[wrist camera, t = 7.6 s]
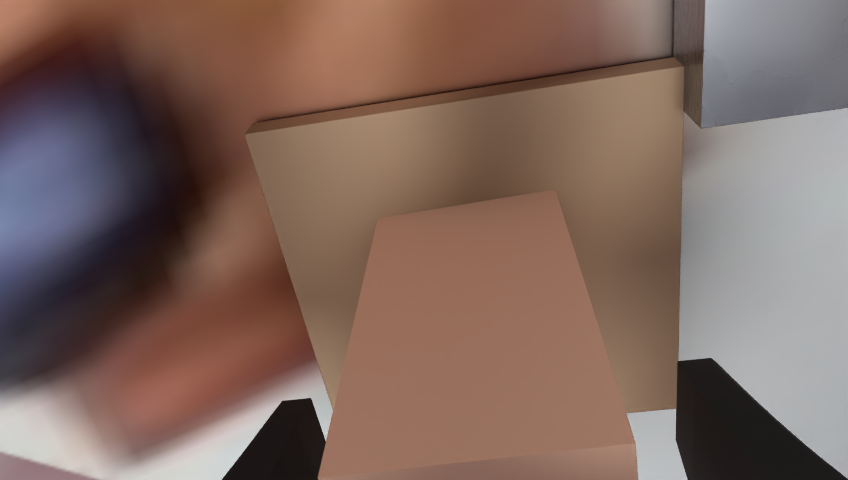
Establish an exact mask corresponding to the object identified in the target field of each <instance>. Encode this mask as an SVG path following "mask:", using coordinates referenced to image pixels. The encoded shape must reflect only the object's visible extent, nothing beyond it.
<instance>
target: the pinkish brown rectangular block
mask: <svg viewBox="0 0 848 480" xmlns="http://www.w3.org/2000/svg"><path fill="white" fill-rule="evenodd" d="M318 480H638V472H637V457H636V443H635V440H634V437H633V434H632V430H631V427H630V424H629V421H628V418H627V415H626V411H625V408H624V405H623V402H622V399H621V396H620V393H619V389H618V386H617V383H616V380H615V377H614V374H613V370H612V367H611V364H610V361H609V358H608V355H607V351H606V348H605V345H604V342H603V339H602V336H601V332H600V329H599V326H598V323H597V320H596V317H595V314H594V310H593V307H592V304H591V301H590V298H589V295H588V291H587V288H586V285H585V282H584V279H583V276H582V272H581V269H580V266H579V263H578V260H577V257H576V253H575V250H574V247H573V244H572V241H571V238H570V235H569V231H568V228H567V225H566V222H565V219H564V216H563V212H562V209H561V206H560V203H559V200H558V197H557V193H556V190H555V189H554V190H548V191H542V192H536V193H530V194H524V195H518V196H512V197H506V198H500V199H494V200H487V201H481V202H475V203H469V204H463V205H457V206H451V207H445V208H439V209H433V210H427V211H421V212H414V213H408V214H402V215H396V216H390V217H384V218H378V219H377V223H376V228H375V232H374V236H373V241H372V245H371V249H370V254H369V258H368V262H367V267H366V271H365V275H364V280H363V284H362V288H361V293H360V297H359V301H358V306H357V310H356V314H355V319H354V323H353V327H352V332H351V336H350V340H349V345H348V349H347V353H346V358H345V362H344V366H343V371H342V375H341V379H340V384H339V388H338V392H337V397H336V401H335V405H334V410H333V414H332V418H331V423H330V427H329V431H328V436H327V440H326V444H325V449H324V453H323V457H322V462H321V466H320V470H319V474H318Z"/></svg>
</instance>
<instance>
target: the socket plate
mask: <svg viewBox="0 0 848 480" xmlns="http://www.w3.org/2000/svg"><path fill="white" fill-rule="evenodd" d="M674 58H675V59H676V60H677V61H679V62H680V63H681V64H682V65H684V106H683V111H684V112H685V113H686V114H687V115H688V116H689V117H690V118H691V119H692V120H693V121H694V122H695V123H696V124H697V125H698V126H699V127H700V128H701V129H702V128H709V127H716V126H723V125H730V124H737V123H744V122H751V121H758V120H765V119H772V118H779V117H786V116H793V115H800V114H807V113H814V112H821V111H828V110H835V109H842V108H848V0H674Z"/></svg>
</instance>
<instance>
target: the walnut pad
mask: <svg viewBox="0 0 848 480" xmlns="http://www.w3.org/2000/svg"><path fill="white" fill-rule="evenodd" d="M683 106H684V65H682V64H681V63H680V62H679V61H677V60H676V59H675V58H674V57H672V58H665V59H659V60H653V61H646V62H640V63H633V64H627V65H621V66H614V67H608V68H602V69H595V70H589V71H582V72H576V73H570V74H563V75H557V76H551V77H544V78H538V79H532V80H525V81H519V82H512V83H506V84H500V85H493V86H487V87H481V88H474V89H468V90H462V91H455V92H449V93H442V94H436V95H430V96H423V97H417V98H411V99H404V100H398V101H392V102H385V103H379V104H372V105H366V106H360V107H353V108H347V109H341V110H334V111H328V112H322V113H315V114H309V115H302V116H296V117H290V118H283V119H277V120H271V121H264V122H258V123H253V125H252V126H251V127H250V128H249V129H248V131H247V132H246V133H245V134H244V135H245V138H246V141H247V144H248V147H249V150H250V153H251V157H252V160H253V163H254V166H255V169H256V172H257V175H258V178H259V181H260V185H261V188H262V191H263V194H264V197H265V200H266V203H267V206H268V209H269V213H270V216H271V219H272V222H273V225H274V228H275V231H276V234H277V237H278V241H279V244H280V247H281V250H282V253H283V256H284V259H285V262H286V265H287V269H288V272H289V275H290V278H291V281H292V284H293V287H294V290H295V293H296V297H297V300H298V303H299V306H300V309H301V312H302V315H303V318H304V321H305V325H306V328H307V331H308V334H309V337H310V340H311V343H312V346H313V349H314V353H315V356H316V359H317V362H318V365H319V368H320V371H321V374H322V377H323V381H324V384H325V387H326V390H327V393H328V396H329V399H330V402H331V406H332V409H333V410H334V405H335V401H336V397H337V392H338V388H339V384H340V379H341V375H342V371H343V366H344V362H345V358H346V353H347V349H348V345H349V340H350V336H351V332H352V327H353V323H354V319H355V314H356V310H357V306H358V301H359V297H360V293H361V288H362V284H363V280H364V275H365V271H366V267H367V262H368V258H369V254H370V249H371V245H372V241H373V236H374V232H375V228H376V223H377V219H378V218H384V217H390V216H396V215H402V214H408V213H414V212H421V211H427V210H433V209H439V208H445V207H451V206H457V205H463V204H469V203H475V202H481V201H487V200H494V199H500V198H506V197H512V196H518V195H524V194H530V193H536V192H542V191H548V190H554V189H555V190H556V193H557V197H558V200H559V203H560V206H561V209H562V212H563V216H564V219H565V222H566V225H567V228H568V231H569V235H570V238H571V241H572V244H573V247H574V250H575V253H576V257H577V260H578V263H579V266H580V269H581V272H582V276H583V279H584V282H585V285H586V288H587V291H588V295H589V298H590V301H591V304H592V307H593V310H594V314H595V317H596V320H597V323H598V326H599V329H600V332H601V336H602V339H603V342H604V345H605V348H606V351H607V355H608V358H609V361H610V364H611V367H612V370H613V374H614V377H615V380H616V383H617V386H618V389H619V393H620V396H621V399H622V402H623V405H624V408H625V411H626V413H633V412H644V411H655V410H665V409H676V405H677V361H678V347H679V299H680V251H681V203H682V155H683Z"/></svg>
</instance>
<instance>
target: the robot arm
mask: <svg viewBox="0 0 848 480" xmlns="http://www.w3.org/2000/svg"><path fill="white" fill-rule="evenodd" d="M676 442H677V445H678V448H679V452H680V455H681V459H682V462H683V465H684V469H685V472H686V475H687V478H688V480H848V479H847V478H846V477H845V476H843V475H842V474H841V473H840V472H838V471H837V470H836V469H834V468H833V467H832V466H831V465H829V464H828V463H827V462H826V461H824V460H823V459H822V458H821V457H819V456H818V455H817V454H816V453H815V452H813V451H812V450H811V449H810V448H809V447H807V446H806V445H805V444H804V443H803V442H802V441H800V440H799V439H798V438H797V437H796V436H795V435H794V434H792V433H791V432H790V431H789V430H788V429H787V428H786V427H784V426H783V425H782V424H781V423H780V422H779V421H778V420H776V419H775V418H774V417H773V416H772V415H771V414H770V413H769V412H768V411H766V410H765V409H764V408H763V407H762V406H761V405H760V404H759V403H758V402H757V401H756V400H755V399H754V398H753V397H752V396H750V395H749V394H748V393H747V392H746V391H745V390H744V389H743V388H742V387H741V386H740V385H739V384H738V383H737V382H736V381H735V380H734V379H733V378H732V377H731V376H730V375H729V374H728V373H727V372H726V371H725V370H724V369H723V368H722V367H721V366H720V365H719V364H718V363H717V362H715V361H714V360H713V359H712V358H706V359H696V360H686V361H677V405H676ZM325 444H326V441H325V438H324V435H323V432H322V429H321V426H320V423H319V420H318V417H317V414H316V412H315V409H314V406H313V403H312V400H311V398H308V399H298V400H288V401H282V402H281V403H280V405H279V406H278V407H277V408H276V410H275V411H274V412H273V414H272V415H271V416H270V418H269V419H268V420H267V422H266V423H265V424H264V425H263V427H262V428H261V429H260V431H259V432H258V433H257V435H256V436H255V437H254V439H253V440H252V441H251V443H250V444H249V445H248V447H247V448H246V449H245V451H244V452H243V453H242V455H241V456H240V457H239V459H238V460H237V461H236V462H235V464H234V465H233V466H232V467H231V469H230V470H229V471H228V472H227V474H226V475H225V476H224V478H223V479H222V480H318V474H319V470H320V466H321V462H322V457H323V453H324V449H325Z"/></svg>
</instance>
